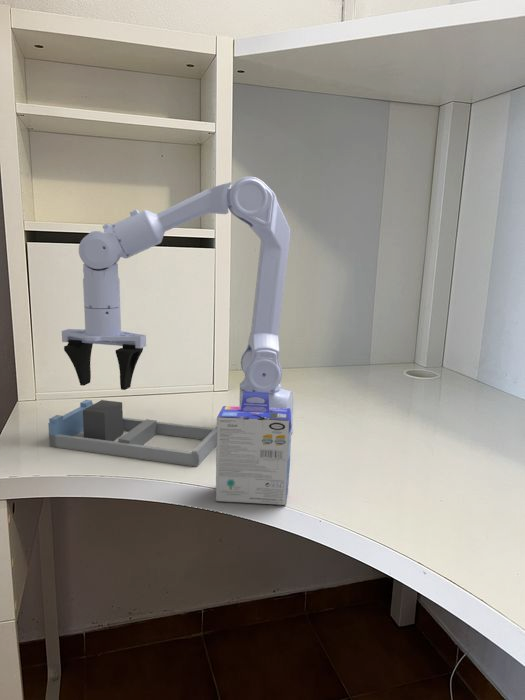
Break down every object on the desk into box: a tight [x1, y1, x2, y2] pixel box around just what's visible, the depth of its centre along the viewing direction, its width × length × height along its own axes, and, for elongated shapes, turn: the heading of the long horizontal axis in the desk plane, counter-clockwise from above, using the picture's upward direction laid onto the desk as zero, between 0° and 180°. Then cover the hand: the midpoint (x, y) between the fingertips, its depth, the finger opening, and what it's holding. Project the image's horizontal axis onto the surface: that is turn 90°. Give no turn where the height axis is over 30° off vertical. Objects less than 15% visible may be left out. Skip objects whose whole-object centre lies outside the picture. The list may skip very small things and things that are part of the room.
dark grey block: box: [83, 399, 124, 442], centre depth 94 cm, size 4×6×6 cm, turn 166°
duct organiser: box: [48, 399, 217, 468], centre depth 93 cm, size 26×12×5 cm, turn 75°
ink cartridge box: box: [215, 391, 292, 506], centre depth 75 cm, size 10×6×14 cm, turn 86°
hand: (105, 386), depth 93 cm, fingers open, 7 cm apart
